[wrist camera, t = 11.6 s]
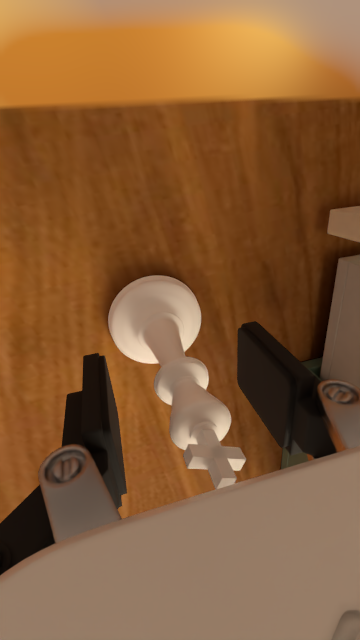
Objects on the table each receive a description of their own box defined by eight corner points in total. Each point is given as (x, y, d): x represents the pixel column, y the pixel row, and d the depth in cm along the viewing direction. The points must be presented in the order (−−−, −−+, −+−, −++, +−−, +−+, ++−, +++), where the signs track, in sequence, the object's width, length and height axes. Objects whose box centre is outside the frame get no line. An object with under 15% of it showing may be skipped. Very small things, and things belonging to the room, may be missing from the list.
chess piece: (180, 364, 18) (262, 540, 10) (97, 349, 17) (106, 550, 8) (212, 288, 17) (344, 419, 8) (123, 263, 15) (170, 395, 6)
